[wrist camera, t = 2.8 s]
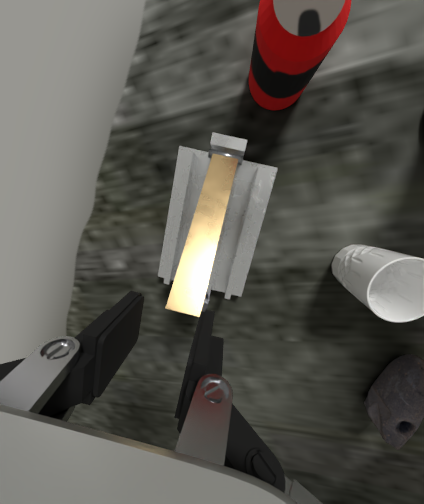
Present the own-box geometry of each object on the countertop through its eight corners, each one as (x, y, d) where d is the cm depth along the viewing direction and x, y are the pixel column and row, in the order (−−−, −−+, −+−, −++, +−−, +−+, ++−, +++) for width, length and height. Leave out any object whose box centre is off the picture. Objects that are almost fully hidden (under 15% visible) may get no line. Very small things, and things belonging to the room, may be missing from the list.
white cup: (317, 260, 33) (353, 285, 23) (363, 229, 31) (422, 242, 22) (344, 296, 34) (389, 334, 24) (390, 268, 32) (458, 297, 23)
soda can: (250, 115, 29) (263, 58, 17) (246, 51, 27) (258, -59, 16) (306, 107, 28) (358, 41, 17) (306, 40, 26) (365, -85, 15)
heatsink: (276, 162, 30) (292, 148, 22) (239, 296, 36) (241, 323, 28) (184, 141, 31) (168, 121, 23) (160, 277, 36) (141, 298, 28)
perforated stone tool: (392, 340, 35) (430, 373, 29) (421, 351, 35) (466, 386, 29) (349, 404, 39) (374, 447, 32) (376, 414, 39) (406, 458, 32)
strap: (242, 160, 25) (244, 154, 24) (205, 318, 18) (205, 318, 17) (209, 153, 25) (210, 146, 24) (161, 307, 18) (159, 306, 17)
